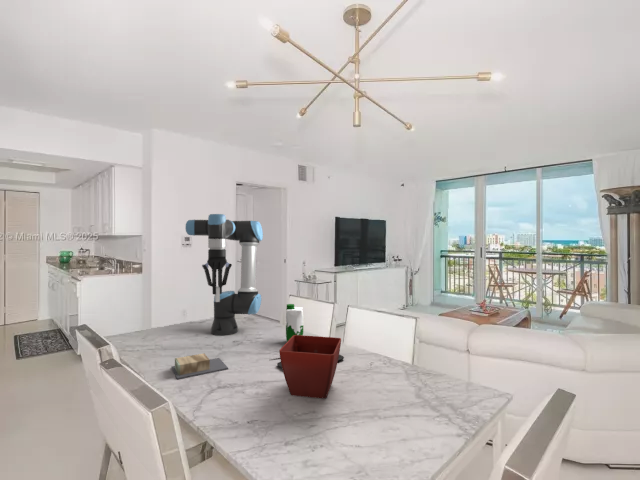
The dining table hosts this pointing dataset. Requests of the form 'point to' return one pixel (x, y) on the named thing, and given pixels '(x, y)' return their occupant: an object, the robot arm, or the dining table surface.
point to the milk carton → (294, 321)
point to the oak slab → (192, 364)
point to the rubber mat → (214, 367)
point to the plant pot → (310, 364)
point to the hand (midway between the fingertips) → (217, 301)
